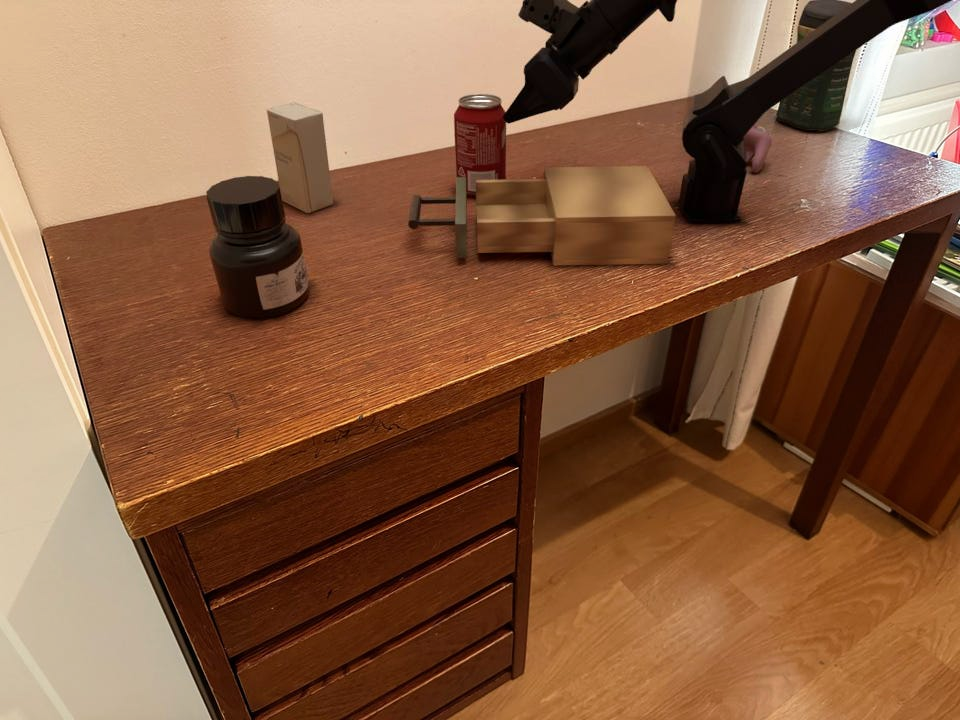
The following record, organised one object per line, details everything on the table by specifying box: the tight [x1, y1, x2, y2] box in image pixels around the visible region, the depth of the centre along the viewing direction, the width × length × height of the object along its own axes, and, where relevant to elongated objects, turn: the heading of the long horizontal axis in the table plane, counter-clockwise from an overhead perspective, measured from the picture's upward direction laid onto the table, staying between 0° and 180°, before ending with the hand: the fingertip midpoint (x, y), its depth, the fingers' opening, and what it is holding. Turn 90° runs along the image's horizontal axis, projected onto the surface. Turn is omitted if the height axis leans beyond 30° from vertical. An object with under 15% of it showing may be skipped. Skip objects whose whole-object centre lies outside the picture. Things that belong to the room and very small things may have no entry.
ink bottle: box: [205, 175, 310, 318], centre depth 69 cm, size 10×9×12 cm
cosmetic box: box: [266, 101, 334, 214], centre depth 88 cm, size 6×4×12 cm
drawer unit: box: [543, 165, 677, 267], centre depth 82 cm, size 13×14×6 cm
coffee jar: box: [776, 0, 857, 132], centre depth 110 cm, size 10×8×19 cm
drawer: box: [407, 176, 555, 259], centre depth 82 cm, size 17×13×4 cm
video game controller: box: [743, 123, 773, 174], centre depth 101 cm, size 10×5×7 cm, turn 58°
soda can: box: [453, 93, 507, 198], centre depth 91 cm, size 7×7×12 cm
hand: (513, 109), depth 87 cm, fingers open, 9 cm apart
